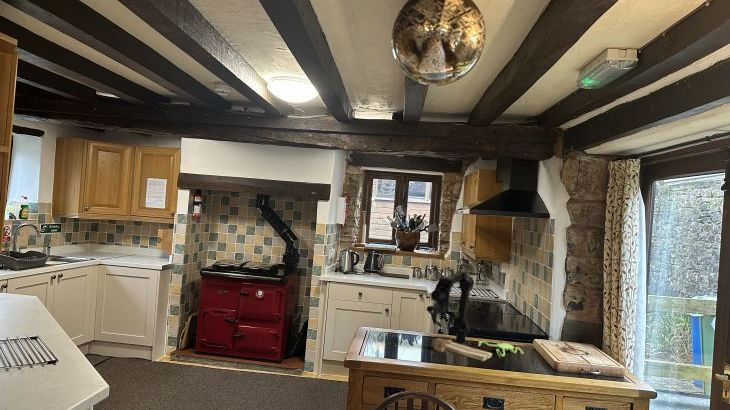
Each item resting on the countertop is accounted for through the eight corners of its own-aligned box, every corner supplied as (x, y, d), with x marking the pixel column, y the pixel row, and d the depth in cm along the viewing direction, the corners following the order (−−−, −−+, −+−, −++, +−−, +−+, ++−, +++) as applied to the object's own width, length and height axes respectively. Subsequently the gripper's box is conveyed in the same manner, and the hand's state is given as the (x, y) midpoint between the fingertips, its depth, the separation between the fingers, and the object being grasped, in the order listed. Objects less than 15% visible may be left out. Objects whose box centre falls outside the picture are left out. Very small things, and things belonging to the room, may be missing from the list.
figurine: (472, 349, 279) (473, 340, 279) (502, 345, 294) (503, 336, 294) (496, 359, 264) (497, 349, 264) (526, 354, 279) (527, 345, 279)
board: (447, 344, 284) (447, 340, 284) (491, 356, 267) (492, 353, 267) (437, 347, 275) (438, 344, 275) (482, 361, 257) (483, 357, 257)
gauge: (446, 345, 282) (447, 335, 282) (454, 347, 279) (454, 337, 279) (433, 350, 270) (434, 339, 270) (440, 352, 267) (441, 341, 267)
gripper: (423, 297, 274) (420, 324, 274) (451, 303, 262) (448, 332, 262) (433, 295, 283) (430, 322, 282) (461, 302, 271) (458, 329, 271)
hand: (441, 326), depth 274 cm, fingers open, 9 cm apart
